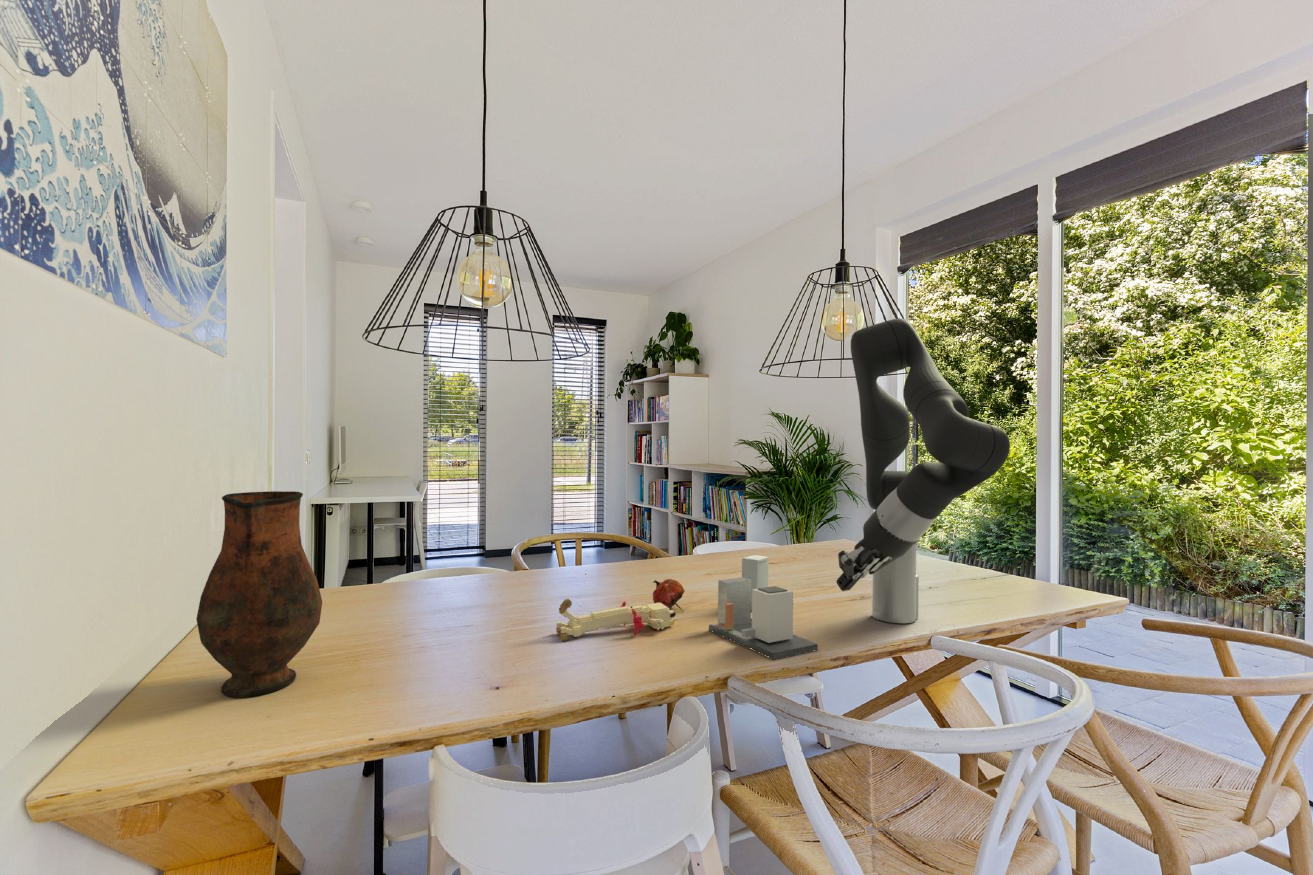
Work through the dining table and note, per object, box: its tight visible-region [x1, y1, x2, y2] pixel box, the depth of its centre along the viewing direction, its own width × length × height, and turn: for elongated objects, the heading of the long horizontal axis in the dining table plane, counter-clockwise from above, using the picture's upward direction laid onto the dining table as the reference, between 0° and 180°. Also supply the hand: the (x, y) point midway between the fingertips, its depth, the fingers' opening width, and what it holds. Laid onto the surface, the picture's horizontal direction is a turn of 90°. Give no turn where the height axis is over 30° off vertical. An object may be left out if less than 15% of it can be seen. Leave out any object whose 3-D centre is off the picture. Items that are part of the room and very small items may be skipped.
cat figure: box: [555, 598, 678, 642], centre depth 128 cm, size 10×9×25 cm
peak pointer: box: [725, 603, 734, 630], centre depth 126 cm, size 1×1×5 cm, turn 121°
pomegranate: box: [652, 578, 685, 613], centre depth 146 cm, size 7×7×10 cm
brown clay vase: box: [196, 490, 323, 699], centre depth 101 cm, size 17×21×30 cm
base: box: [708, 576, 819, 660], centre depth 124 cm, size 11×20×10 cm, turn 31°
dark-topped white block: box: [742, 585, 794, 643], centre depth 121 cm, size 8×5×9 cm, turn 121°
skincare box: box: [741, 554, 770, 611], centre depth 149 cm, size 6×4×12 cm
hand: (842, 586), depth 107 cm, fingers closed
